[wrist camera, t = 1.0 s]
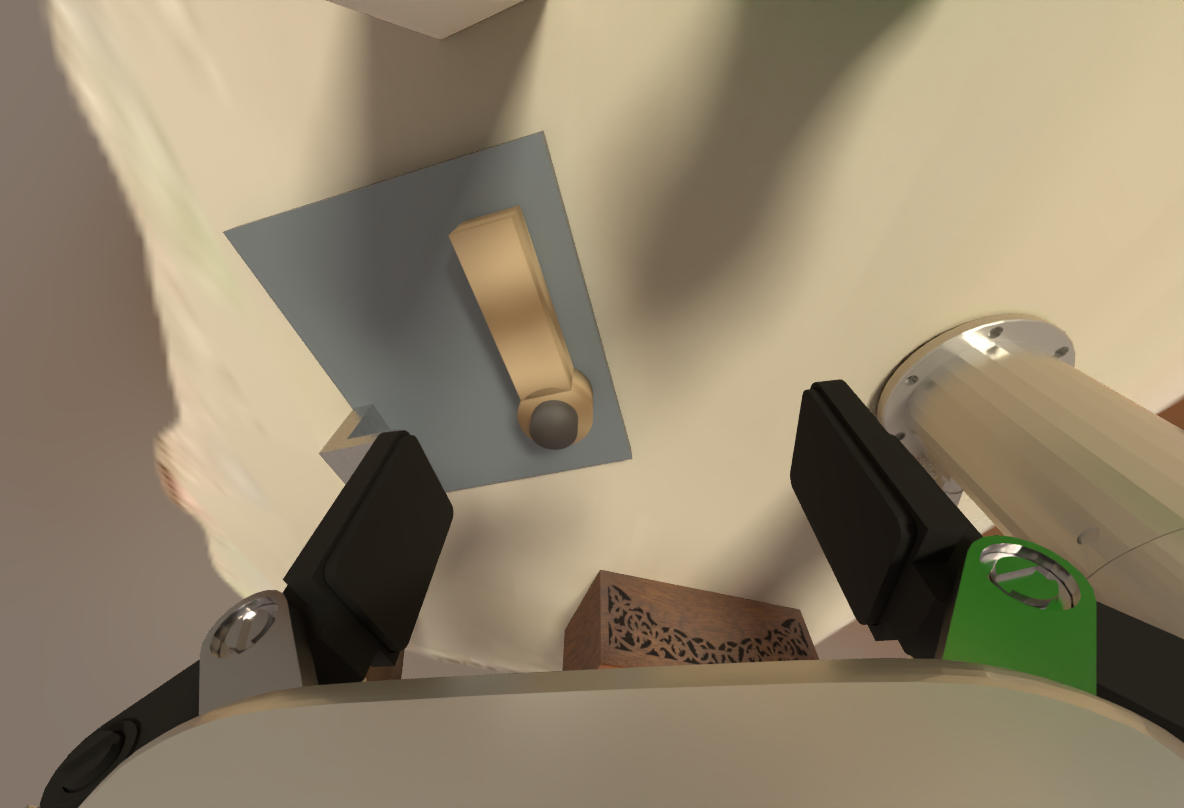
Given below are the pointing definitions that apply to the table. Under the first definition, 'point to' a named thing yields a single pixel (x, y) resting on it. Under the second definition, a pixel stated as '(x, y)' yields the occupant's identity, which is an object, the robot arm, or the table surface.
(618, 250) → the table surface
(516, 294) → the link
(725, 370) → the table surface
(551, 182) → the board
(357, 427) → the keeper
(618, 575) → the tissue box cover
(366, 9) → the milk
